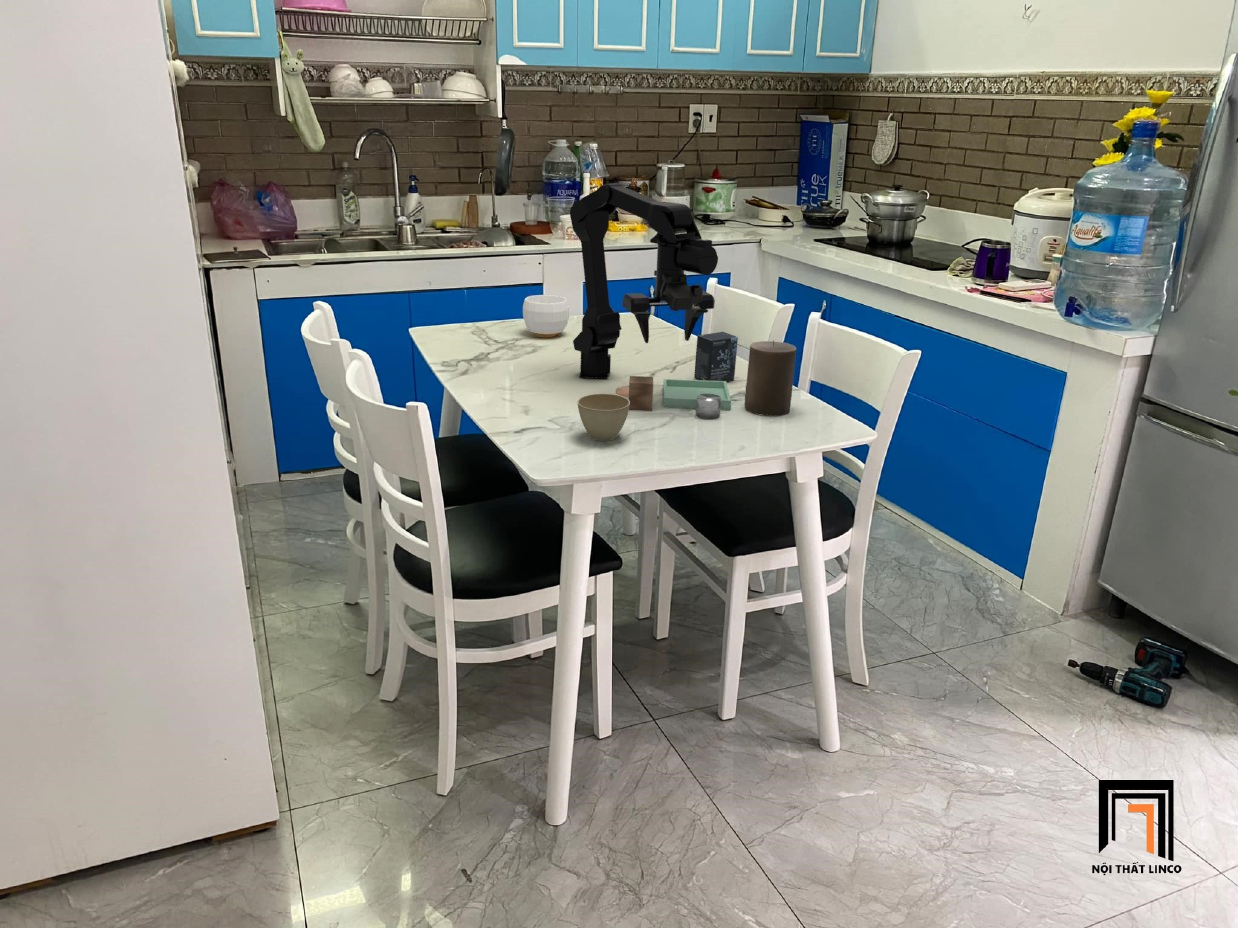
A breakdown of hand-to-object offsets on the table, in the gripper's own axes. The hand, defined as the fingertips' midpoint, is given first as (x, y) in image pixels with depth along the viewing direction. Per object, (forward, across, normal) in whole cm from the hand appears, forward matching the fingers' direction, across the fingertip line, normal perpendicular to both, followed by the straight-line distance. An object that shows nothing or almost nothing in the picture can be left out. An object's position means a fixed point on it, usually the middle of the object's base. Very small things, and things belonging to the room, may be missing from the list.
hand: (666, 341), depth 199 cm
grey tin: (+13, +5, -13) cm, 19 cm away
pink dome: (+13, -5, +6) cm, 15 cm away
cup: (+13, -10, +60) cm, 62 cm away
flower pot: (+13, -20, -19) cm, 31 cm away
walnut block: (+13, -7, -4) cm, 15 cm away
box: (+13, +17, +10) cm, 24 cm away
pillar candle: (+13, +19, -12) cm, 26 cm away
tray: (+13, +7, -2) cm, 15 cm away
